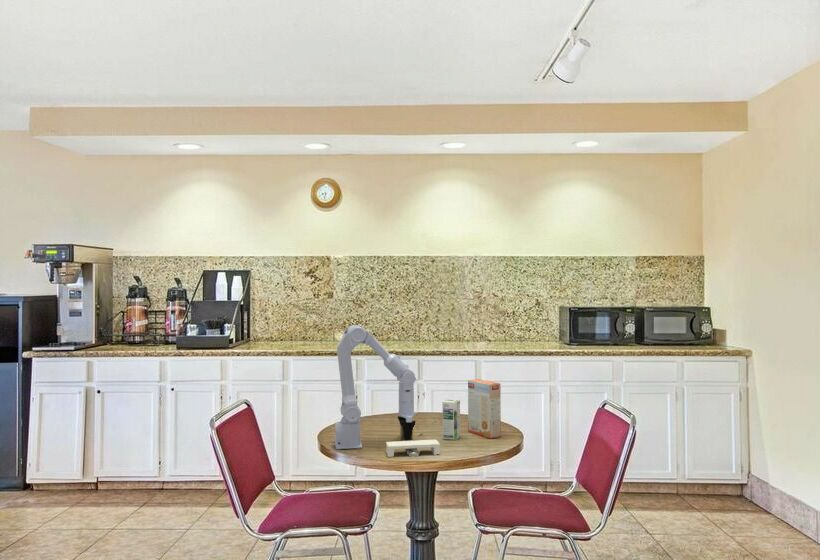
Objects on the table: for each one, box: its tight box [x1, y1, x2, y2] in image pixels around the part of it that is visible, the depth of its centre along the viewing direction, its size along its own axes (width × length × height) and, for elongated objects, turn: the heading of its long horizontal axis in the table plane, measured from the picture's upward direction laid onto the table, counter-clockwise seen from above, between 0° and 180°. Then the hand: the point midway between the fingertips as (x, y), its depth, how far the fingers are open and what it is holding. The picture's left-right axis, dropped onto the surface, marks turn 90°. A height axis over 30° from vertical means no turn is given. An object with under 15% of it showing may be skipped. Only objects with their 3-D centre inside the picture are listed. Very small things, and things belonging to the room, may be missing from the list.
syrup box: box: [441, 398, 461, 441], centre depth 214 cm, size 6×6×14 cm
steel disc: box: [406, 449, 421, 457], centre depth 192 cm, size 4×4×1 cm
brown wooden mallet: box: [399, 424, 418, 452], centre depth 202 cm, size 4×16×6 cm, turn 9°
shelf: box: [385, 439, 441, 458], centre depth 193 cm, size 18×6×4 cm, turn 99°
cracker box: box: [467, 378, 502, 439], centre depth 219 cm, size 14×6×21 cm, turn 31°
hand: (406, 437), depth 208 cm, fingers open, 5 cm apart
